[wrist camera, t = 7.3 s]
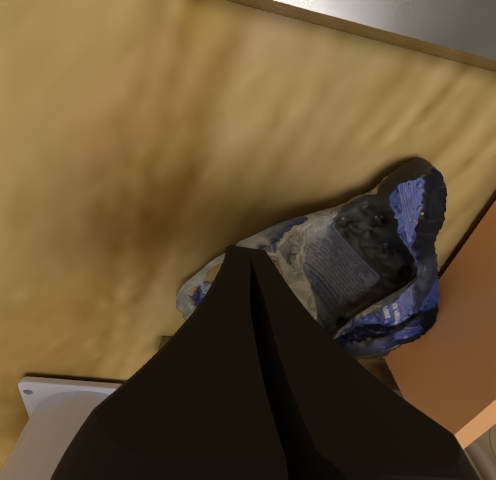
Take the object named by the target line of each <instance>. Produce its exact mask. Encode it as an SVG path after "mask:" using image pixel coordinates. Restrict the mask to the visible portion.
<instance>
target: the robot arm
mask: <svg viewBox="0 0 496 480" xmlns="http://www.w3.org/2000/svg"><path fill="white" fill-rule="evenodd" d="M18 388H19V391H20V393H21V396H22V399H23V402H24V404H25V407H26V410H27V413H28V415H29V420H28V422H27V423H26V425H25V427H24V429H23V430H22V432H21V434H20V436H19V438H18V439H17V441H16V443H15V445H14V446H13V448H12V450H11V452H10V453H9V455H8V457H7V459H6V460H5V462H4V464H3V466H2V467H1V469H0V480H480V478H479V476H478V475H477V473H476V471H475V470H474V468H473V466H472V464H471V463H470V461H469V459H468V457H467V456H466V454H465V452H464V450H463V449H462V447H461V445H460V444H459V442H458V440H457V439H456V437H455V435H454V434H453V433H451V432H450V431H448V430H447V429H446V428H444V427H443V426H441V425H440V424H439V423H437V422H436V421H434V420H433V419H431V418H430V417H429V416H427V415H426V414H424V413H423V412H421V411H420V410H419V409H417V408H416V407H414V406H413V405H411V404H410V403H409V402H407V401H406V400H405V399H403V398H402V397H401V396H399V395H398V394H397V393H395V392H394V391H393V390H392V389H390V388H389V387H388V386H387V385H385V384H384V383H383V382H381V381H380V380H379V379H378V378H376V377H375V376H374V375H373V374H372V373H370V372H369V371H368V370H367V369H366V368H365V367H363V366H362V365H361V364H360V363H359V362H358V361H357V360H356V359H354V358H353V357H352V356H351V355H350V354H349V353H348V352H347V351H346V350H344V349H343V348H342V347H341V346H340V345H339V344H338V343H337V342H336V341H335V340H334V339H333V338H332V337H331V336H330V335H329V334H328V333H327V332H326V331H325V330H324V328H323V327H322V326H321V325H320V324H319V323H318V322H317V321H316V320H315V319H314V318H313V316H312V315H311V314H310V313H309V312H308V311H307V309H306V308H305V307H304V306H303V304H302V303H301V302H300V301H299V299H298V298H297V297H296V295H295V294H294V293H293V291H292V290H291V288H290V287H289V286H288V284H287V283H286V281H285V280H284V278H283V277H282V275H281V274H280V272H279V271H278V269H277V268H276V266H275V265H274V263H273V261H272V260H271V258H270V257H269V255H268V254H267V252H266V251H265V250H260V249H254V248H247V247H240V246H234V245H229V246H228V247H226V252H225V257H224V261H223V263H222V266H221V268H220V270H219V272H218V274H217V276H216V278H215V280H214V281H213V283H212V285H211V286H210V288H209V290H208V291H207V293H206V294H205V296H204V297H203V299H202V300H201V302H200V303H199V305H198V306H197V307H196V309H195V310H194V311H193V313H192V314H191V315H190V317H189V318H188V319H187V320H186V322H185V323H184V324H183V325H182V326H181V327H180V328H179V330H178V331H177V332H176V333H175V334H174V335H173V336H172V338H171V339H170V340H169V341H168V342H167V343H166V344H165V345H164V346H163V347H162V348H161V349H160V350H159V351H158V352H157V353H156V354H155V355H154V356H153V357H152V358H151V359H150V360H149V361H148V362H147V363H146V364H145V365H144V366H143V367H142V368H140V369H139V370H138V371H137V372H136V373H135V374H134V375H133V376H132V377H131V378H129V379H128V380H127V381H126V382H125V383H124V384H118V383H105V382H93V381H80V380H68V379H55V378H43V377H30V376H26V377H23V378H22V379H21V380H20V381H19V383H18Z"/></svg>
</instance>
